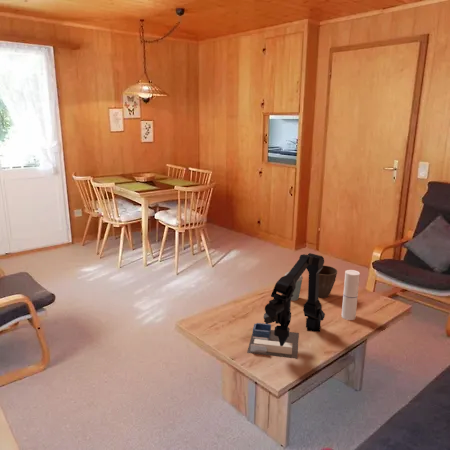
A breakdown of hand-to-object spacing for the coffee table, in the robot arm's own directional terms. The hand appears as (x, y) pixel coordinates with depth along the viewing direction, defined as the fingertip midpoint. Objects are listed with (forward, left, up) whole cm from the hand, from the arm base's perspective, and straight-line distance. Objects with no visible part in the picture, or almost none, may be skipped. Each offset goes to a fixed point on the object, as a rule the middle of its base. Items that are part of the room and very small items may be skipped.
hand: (282, 340), depth 182 cm
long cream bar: (+4, 0, -5) cm, 7 cm away
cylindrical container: (-32, -40, -6) cm, 52 cm away
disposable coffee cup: (-2, -56, -6) cm, 57 cm away
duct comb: (+4, -6, -6) cm, 10 cm away
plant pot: (-19, -64, -6) cm, 67 cm away
